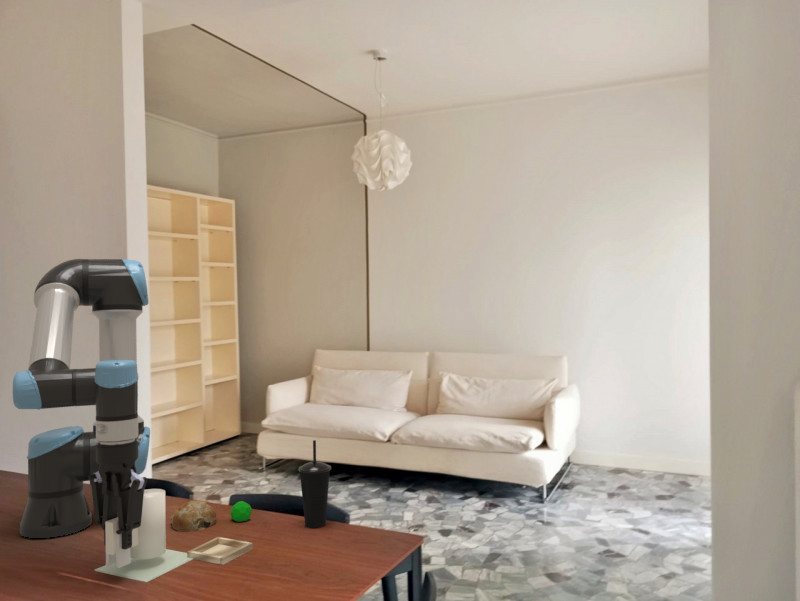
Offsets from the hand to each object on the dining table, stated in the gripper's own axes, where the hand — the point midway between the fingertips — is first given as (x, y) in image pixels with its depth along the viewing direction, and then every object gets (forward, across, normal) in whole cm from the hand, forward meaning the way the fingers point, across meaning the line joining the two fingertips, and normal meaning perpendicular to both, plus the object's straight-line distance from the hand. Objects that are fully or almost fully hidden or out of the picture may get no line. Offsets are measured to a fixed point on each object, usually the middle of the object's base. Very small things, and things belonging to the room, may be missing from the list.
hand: (118, 563), depth 123 cm
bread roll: (+3, -9, +29) cm, 31 cm away
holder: (+3, +10, +17) cm, 20 cm away
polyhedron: (+3, 0, +36) cm, 37 cm away
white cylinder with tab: (0, 0, +4) cm, 4 cm away
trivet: (+3, 0, +7) cm, 8 cm away
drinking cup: (+3, +18, +41) cm, 45 cm away
